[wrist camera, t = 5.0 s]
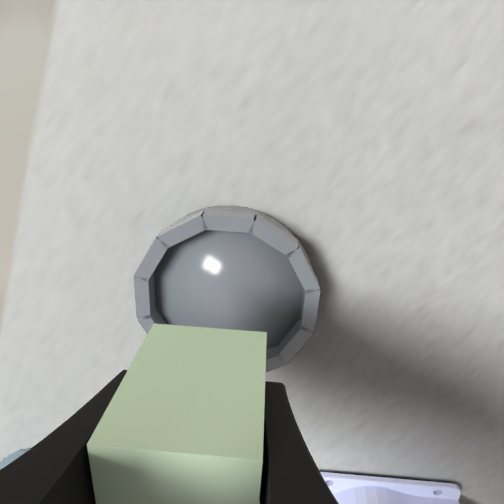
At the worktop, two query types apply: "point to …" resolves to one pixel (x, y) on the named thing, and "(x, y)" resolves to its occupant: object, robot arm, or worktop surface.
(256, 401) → the block
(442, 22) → the worktop surface
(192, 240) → the dish
